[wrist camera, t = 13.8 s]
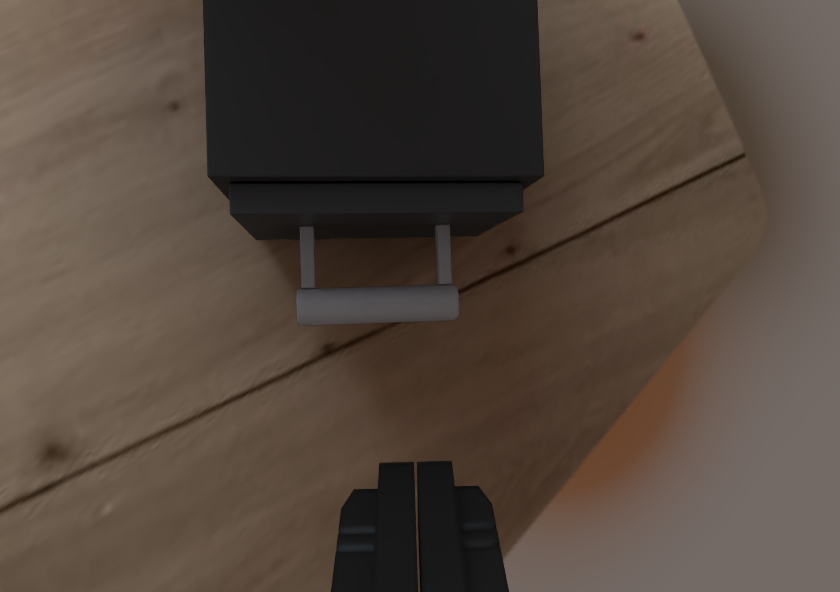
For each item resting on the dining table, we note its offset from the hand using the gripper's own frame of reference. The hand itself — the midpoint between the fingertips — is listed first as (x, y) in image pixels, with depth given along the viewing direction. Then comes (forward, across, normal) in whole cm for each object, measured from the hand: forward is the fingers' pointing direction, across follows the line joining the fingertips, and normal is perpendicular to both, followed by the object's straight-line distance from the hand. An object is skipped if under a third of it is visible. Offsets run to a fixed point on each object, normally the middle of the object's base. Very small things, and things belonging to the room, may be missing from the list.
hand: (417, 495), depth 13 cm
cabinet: (+24, -2, +6) cm, 25 cm away
